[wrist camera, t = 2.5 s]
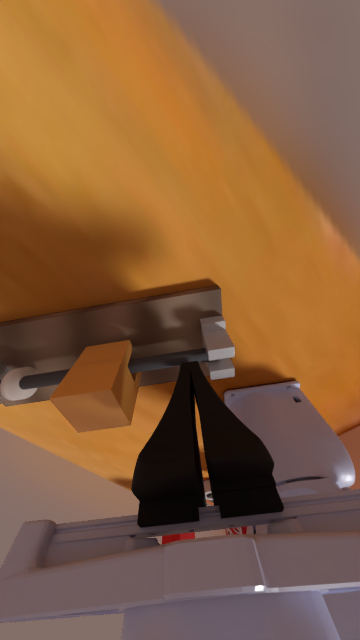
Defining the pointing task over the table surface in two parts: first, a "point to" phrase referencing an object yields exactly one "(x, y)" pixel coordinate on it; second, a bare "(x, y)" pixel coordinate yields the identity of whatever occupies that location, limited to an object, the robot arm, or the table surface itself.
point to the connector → (0, 371)
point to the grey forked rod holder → (217, 347)
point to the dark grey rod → (28, 380)
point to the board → (110, 334)
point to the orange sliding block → (99, 388)
